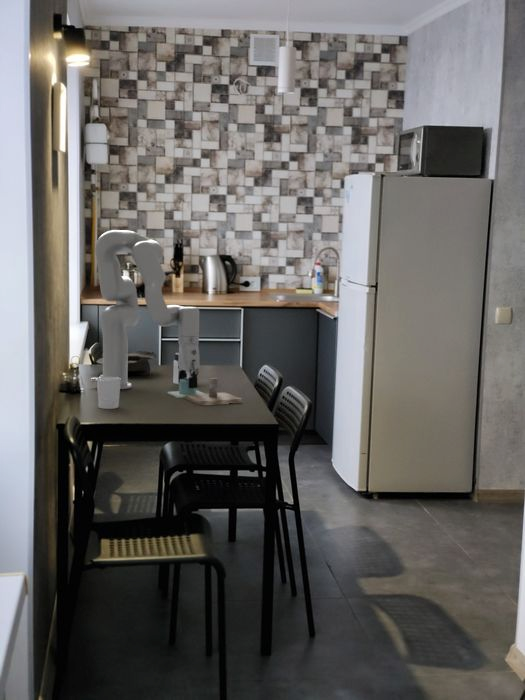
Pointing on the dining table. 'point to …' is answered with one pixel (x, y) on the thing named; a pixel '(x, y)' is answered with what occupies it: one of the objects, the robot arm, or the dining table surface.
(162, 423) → the dining table surface
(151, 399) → the dining table surface
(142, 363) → the stone bowl
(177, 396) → the mat
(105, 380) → the white cup
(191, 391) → the cap
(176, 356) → the jar
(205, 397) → the post base
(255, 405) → the dining table surface
